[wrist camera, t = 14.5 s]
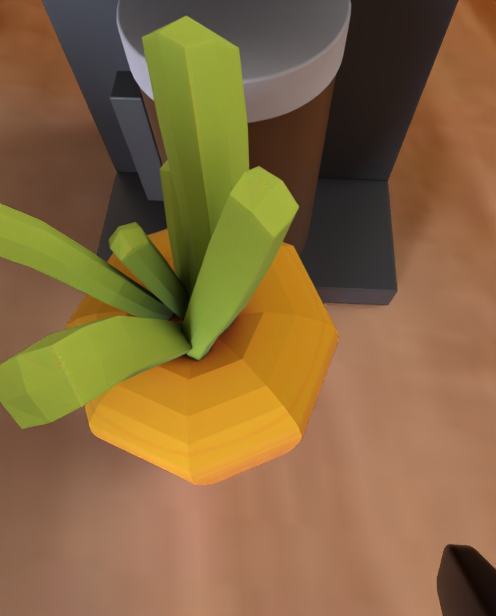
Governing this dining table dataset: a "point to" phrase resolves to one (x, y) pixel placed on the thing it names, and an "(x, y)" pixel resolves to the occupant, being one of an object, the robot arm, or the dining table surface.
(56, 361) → the carrot
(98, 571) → the dining table surface
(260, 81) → the coffee maker
